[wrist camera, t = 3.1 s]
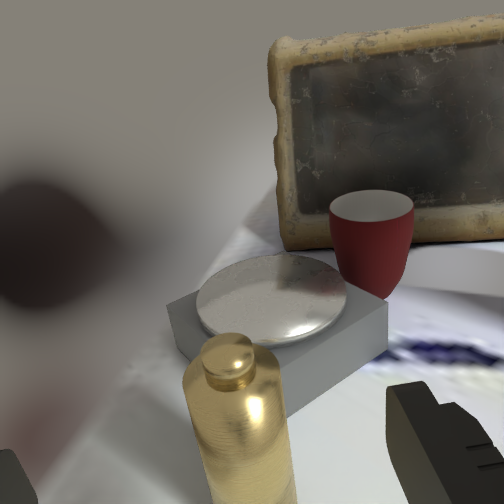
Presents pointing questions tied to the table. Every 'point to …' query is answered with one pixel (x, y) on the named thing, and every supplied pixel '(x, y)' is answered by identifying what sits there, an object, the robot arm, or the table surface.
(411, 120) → the tablet
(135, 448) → the table surface
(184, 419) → the table surface
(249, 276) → the scale platter
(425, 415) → the robot arm
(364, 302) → the scale housing
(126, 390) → the table surface
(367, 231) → the mug
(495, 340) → the table surface
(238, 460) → the calibration weight
